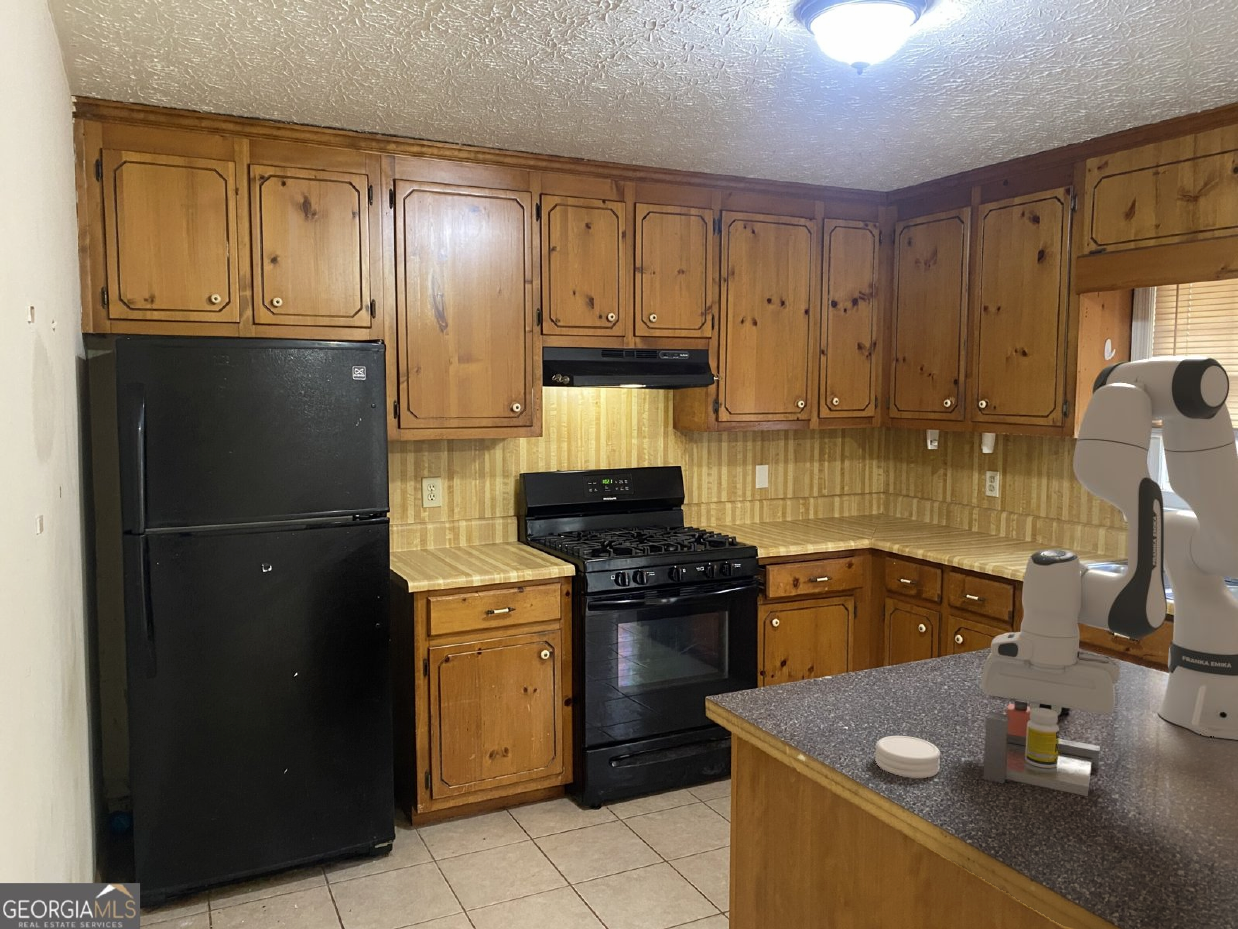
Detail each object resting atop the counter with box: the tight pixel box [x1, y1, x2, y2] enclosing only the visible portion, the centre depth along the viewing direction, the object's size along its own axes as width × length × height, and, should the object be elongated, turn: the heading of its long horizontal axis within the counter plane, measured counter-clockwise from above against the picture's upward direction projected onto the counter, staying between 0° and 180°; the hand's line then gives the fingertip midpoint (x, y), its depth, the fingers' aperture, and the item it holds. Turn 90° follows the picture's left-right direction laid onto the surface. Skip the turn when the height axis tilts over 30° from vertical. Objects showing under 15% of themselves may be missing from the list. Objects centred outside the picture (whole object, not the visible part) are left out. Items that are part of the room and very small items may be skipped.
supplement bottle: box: [1025, 708, 1060, 768], centre depth 144 cm, size 5×5×8 cm
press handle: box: [1005, 699, 1031, 737], centre depth 153 cm, size 4×4×5 cm
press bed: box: [982, 711, 1101, 797], centre depth 145 cm, size 16×17×10 cm
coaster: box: [874, 735, 941, 779], centre depth 146 cm, size 10×10×4 cm
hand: (1044, 729), depth 151 cm, fingers closed
